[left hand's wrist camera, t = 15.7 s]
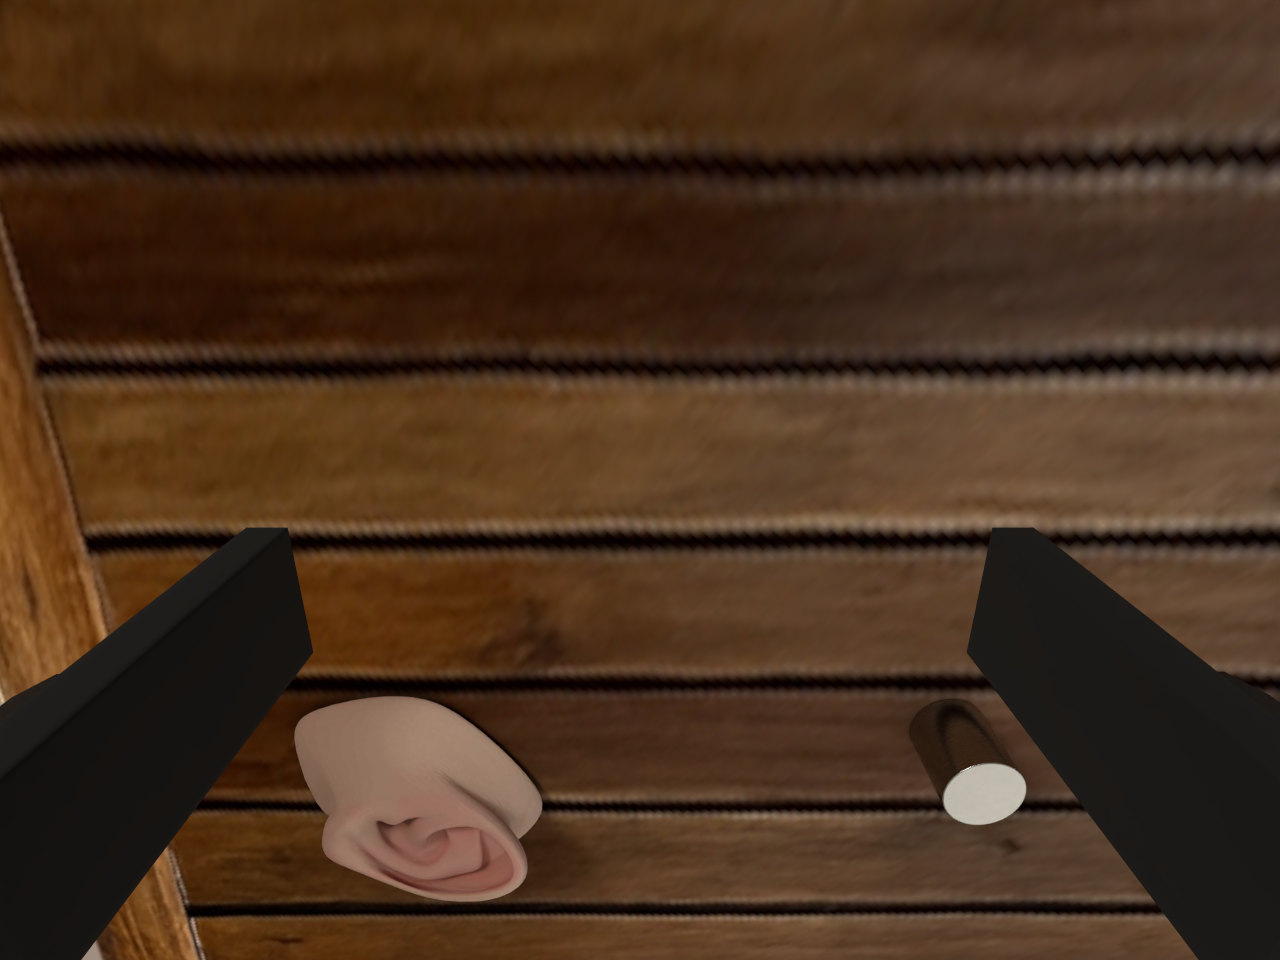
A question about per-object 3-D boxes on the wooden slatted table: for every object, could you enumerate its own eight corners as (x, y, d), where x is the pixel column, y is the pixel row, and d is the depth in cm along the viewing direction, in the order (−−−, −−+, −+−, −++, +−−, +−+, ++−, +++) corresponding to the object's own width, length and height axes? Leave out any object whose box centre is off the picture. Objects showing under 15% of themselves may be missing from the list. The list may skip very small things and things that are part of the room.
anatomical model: (214, 795, 33) (405, 705, 31) (257, 736, 37) (431, 652, 35) (379, 956, 37) (557, 887, 35) (403, 888, 41) (566, 822, 39)
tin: (977, 690, 35) (1020, 754, 31) (988, 745, 37) (1032, 814, 33) (902, 709, 36) (935, 775, 32) (916, 763, 37) (950, 833, 33)
